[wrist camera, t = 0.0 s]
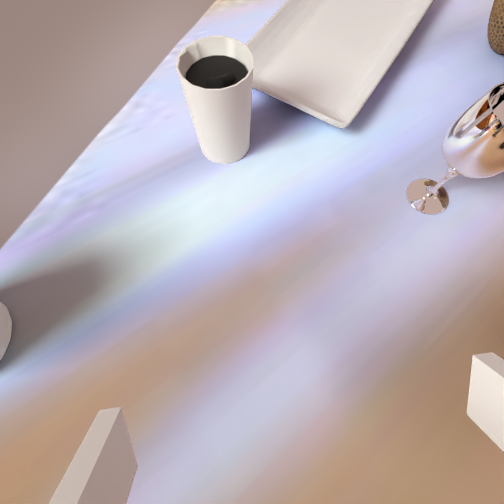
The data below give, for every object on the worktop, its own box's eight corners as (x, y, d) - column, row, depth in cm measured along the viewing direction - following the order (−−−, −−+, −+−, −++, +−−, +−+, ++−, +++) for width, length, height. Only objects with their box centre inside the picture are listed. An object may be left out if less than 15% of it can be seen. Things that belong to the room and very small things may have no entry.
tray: (221, 92, 38) (218, 67, 34) (333, -30, 47) (339, -60, 44) (339, 150, 34) (349, 128, 31) (434, 6, 44) (449, -23, 41)
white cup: (264, 137, 35) (269, 54, 25) (231, 177, 33) (223, 102, 23) (219, 113, 36) (207, 25, 27) (185, 150, 34) (159, 69, 25)
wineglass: (451, 177, 33) (555, 80, 21) (457, 223, 31) (575, 142, 19) (399, 171, 33) (474, 72, 22) (400, 216, 31) (485, 133, 20)
